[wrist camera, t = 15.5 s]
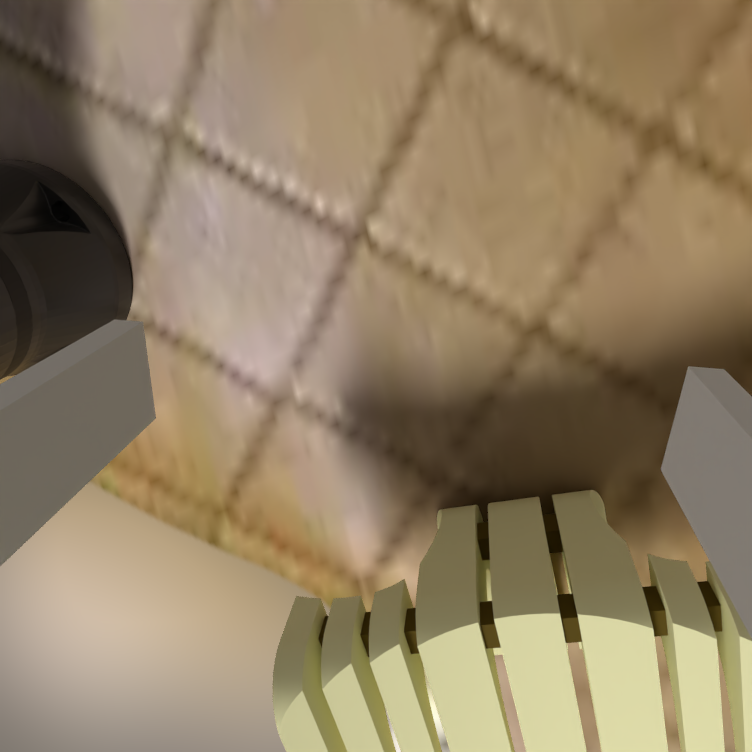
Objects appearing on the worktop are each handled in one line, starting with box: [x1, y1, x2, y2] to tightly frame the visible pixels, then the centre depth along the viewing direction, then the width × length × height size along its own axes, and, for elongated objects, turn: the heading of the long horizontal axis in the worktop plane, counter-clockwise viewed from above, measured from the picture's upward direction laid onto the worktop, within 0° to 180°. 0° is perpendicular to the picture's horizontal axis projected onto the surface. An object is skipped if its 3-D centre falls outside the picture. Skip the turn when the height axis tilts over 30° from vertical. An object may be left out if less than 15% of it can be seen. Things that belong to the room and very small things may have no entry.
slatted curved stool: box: [273, 490, 752, 752], centre depth 40 cm, size 30×16×18 cm, turn 105°
